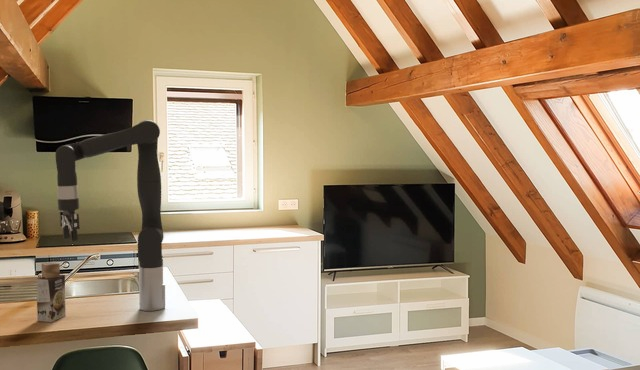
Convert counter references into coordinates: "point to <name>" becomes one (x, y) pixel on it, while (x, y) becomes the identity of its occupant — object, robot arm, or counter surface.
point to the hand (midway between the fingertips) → (70, 239)
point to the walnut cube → (50, 270)
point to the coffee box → (50, 298)
